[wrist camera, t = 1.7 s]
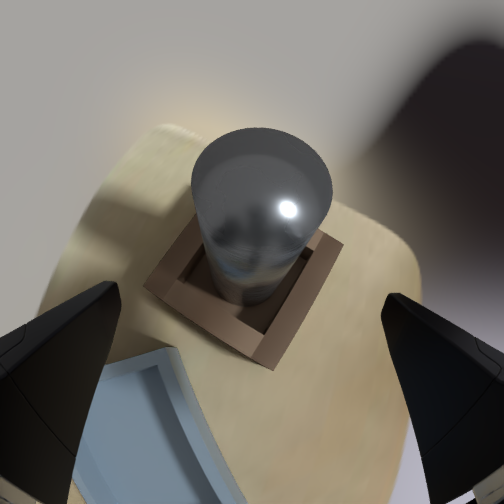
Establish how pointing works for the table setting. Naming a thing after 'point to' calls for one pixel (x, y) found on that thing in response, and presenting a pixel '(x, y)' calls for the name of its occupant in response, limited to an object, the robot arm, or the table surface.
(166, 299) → the socket block
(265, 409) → the table surface
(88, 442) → the tray
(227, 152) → the metallic grey cylinder
